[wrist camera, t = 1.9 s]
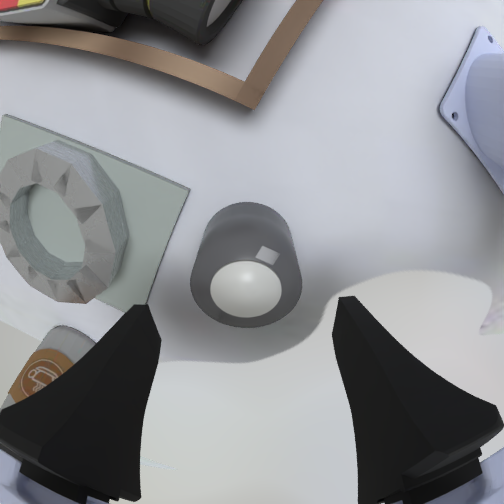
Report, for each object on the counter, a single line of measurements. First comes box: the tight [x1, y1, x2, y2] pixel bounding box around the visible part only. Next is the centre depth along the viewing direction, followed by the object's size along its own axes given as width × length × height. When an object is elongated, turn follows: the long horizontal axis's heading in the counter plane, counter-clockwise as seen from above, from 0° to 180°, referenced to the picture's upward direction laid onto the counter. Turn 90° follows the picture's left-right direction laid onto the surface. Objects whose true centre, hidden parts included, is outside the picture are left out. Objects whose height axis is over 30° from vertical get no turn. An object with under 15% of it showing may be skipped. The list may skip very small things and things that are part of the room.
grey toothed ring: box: [0, 140, 130, 304], centre depth 13 cm, size 10×10×2 cm
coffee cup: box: [0, 326, 95, 463], centre depth 15 cm, size 8×8×15 cm
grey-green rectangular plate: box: [0, 114, 190, 313], centre depth 14 cm, size 14×10×1 cm
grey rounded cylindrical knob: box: [190, 202, 302, 328], centre depth 14 cm, size 5×5×4 cm
